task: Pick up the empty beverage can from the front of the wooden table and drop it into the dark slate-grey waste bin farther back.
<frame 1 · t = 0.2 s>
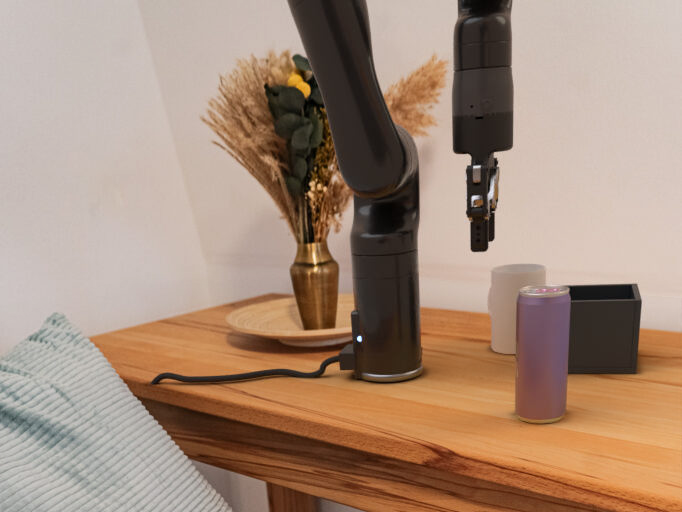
hand: (483, 246, 111), 17 cm above the table, tool pointing down, fingers open, 8 cm apart
waste bin: (591, 362, 120), on the table
beverage can: (540, 418, 100), on the table
mug: (511, 346, 131), on the table
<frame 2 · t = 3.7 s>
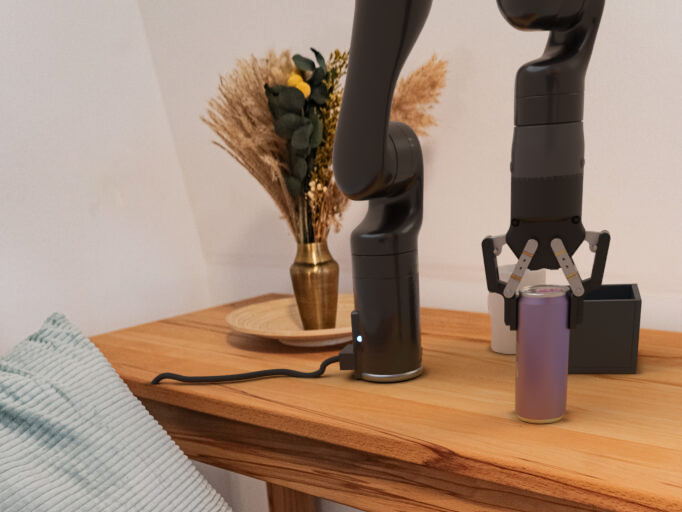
hand: (542, 328, 96), 11 cm above the table, tool pointing down, fingers closed on beverage can, 6 cm apart
beverage can: (540, 418, 100), on the table, touching gripper
everything else where it was.
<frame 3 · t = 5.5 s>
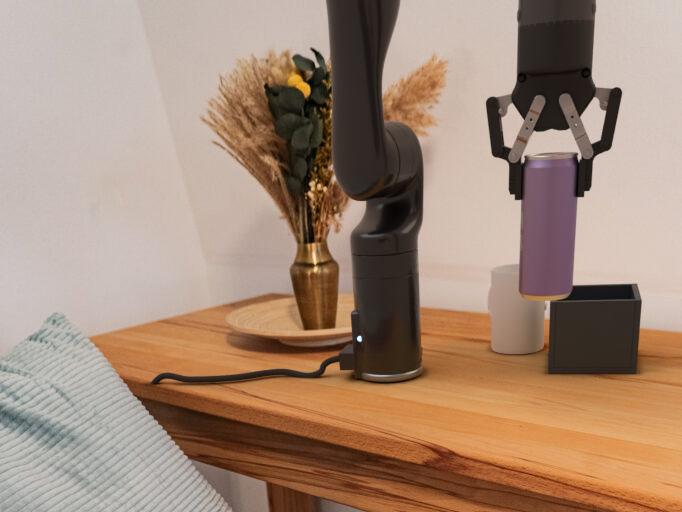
hand: (549, 197, 91), 25 cm above the table, tool pointing down, fingers closed on beverage can, 6 cm apart
beverage can: (544, 298, 96), point 14 cm above the table, touching gripper
everything else where it was.
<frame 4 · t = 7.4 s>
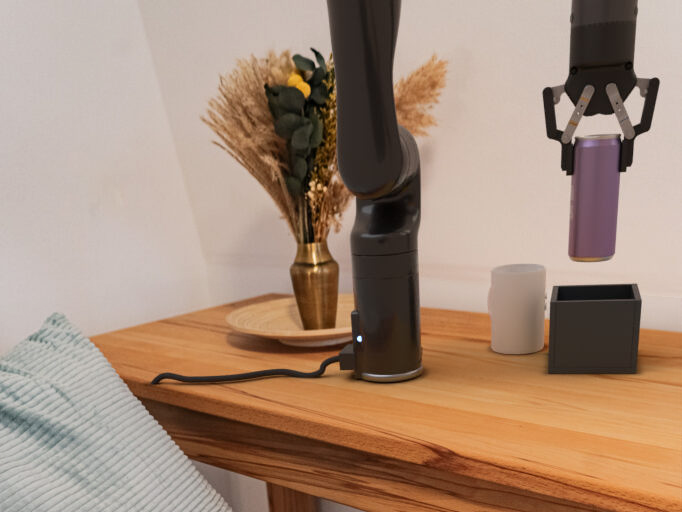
hand: (595, 173, 107), 25 cm above the table, tool pointing down, fingers closed on beverage can, 6 cm apart
beverage can: (590, 260, 111), point 15 cm above the table, touching gripper
everything else where it was.
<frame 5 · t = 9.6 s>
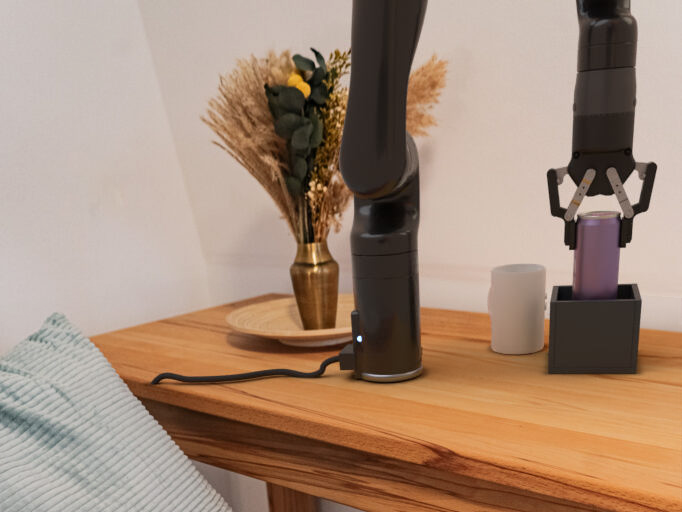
hand: (596, 247, 113), 16 cm above the table, tool pointing down, fingers closed on beverage can, 6 cm apart
beverage can: (592, 327, 117), point 5 cm above the table, touching gripper
everything else where it was.
when the fingers open (11 cm above the table, at t = 11.4 s): beverage can stays where it is, resting on waste bin.
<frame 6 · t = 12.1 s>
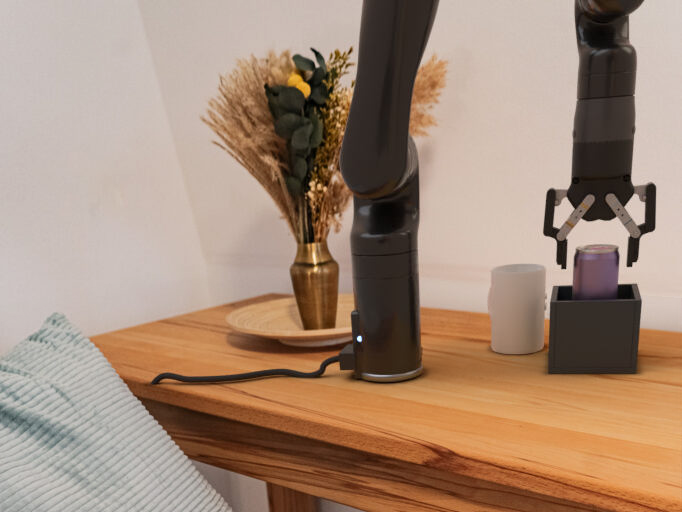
hand: (596, 267, 114), 13 cm above the table, tool pointing down, fingers open, 8 cm apart
beverage can: (591, 358, 119), point 1 cm above the table, touching waste bin
everything else where it was.
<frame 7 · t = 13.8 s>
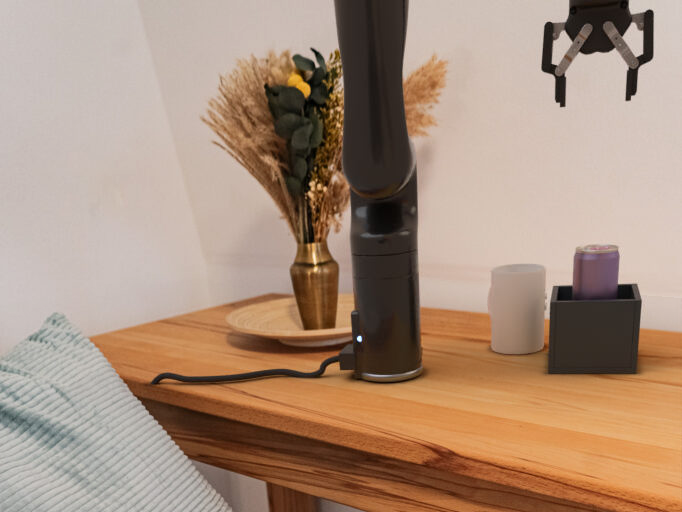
hand: (594, 104, 114), 33 cm above the table, tool pointing down, fingers open, 8 cm apart
nothing on the table moved.
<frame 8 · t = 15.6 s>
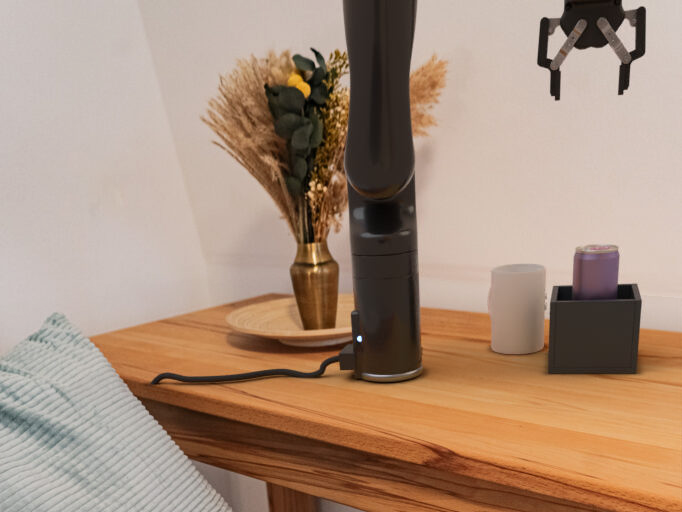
hand: (588, 97, 118), 34 cm above the table, tool pointing down, fingers open, 8 cm apart
nothing on the table moved.
at the end: beverage can inside the target area in the waste bin (0.1 cm from its centre), point 0.6 cm above the waste bin's base; the gripper is holding nothing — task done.
